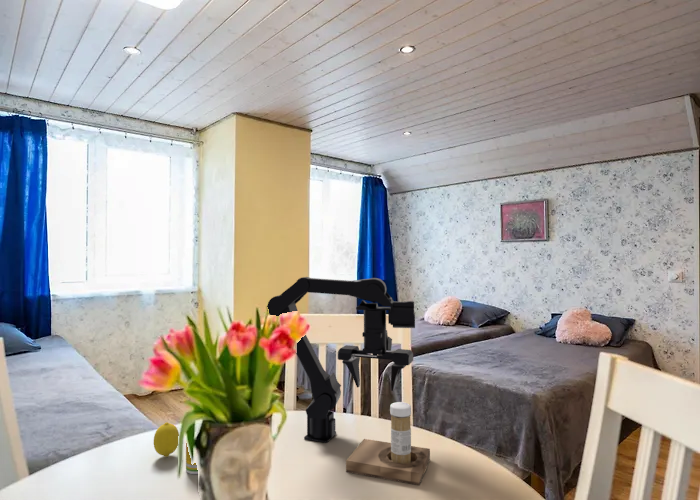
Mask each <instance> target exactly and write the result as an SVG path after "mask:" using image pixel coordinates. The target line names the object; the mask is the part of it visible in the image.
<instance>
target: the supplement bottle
mask: <svg viewBox="0 0 700 500" xmlns="http://www.w3.org/2000/svg"><path fill="white" fill-rule="evenodd" d="M185 471H186V472H187V474H190V475H199V474H198V470H197V465H196V463H194V464H193V465H192V464H191V458H190V455H189V452H188V447H187V443H186V442H185Z"/></svg>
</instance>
